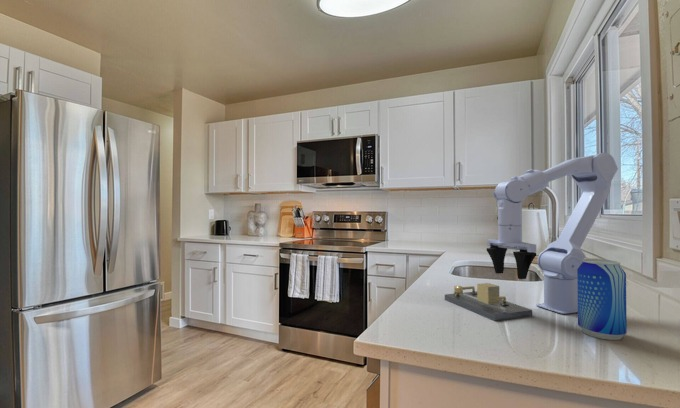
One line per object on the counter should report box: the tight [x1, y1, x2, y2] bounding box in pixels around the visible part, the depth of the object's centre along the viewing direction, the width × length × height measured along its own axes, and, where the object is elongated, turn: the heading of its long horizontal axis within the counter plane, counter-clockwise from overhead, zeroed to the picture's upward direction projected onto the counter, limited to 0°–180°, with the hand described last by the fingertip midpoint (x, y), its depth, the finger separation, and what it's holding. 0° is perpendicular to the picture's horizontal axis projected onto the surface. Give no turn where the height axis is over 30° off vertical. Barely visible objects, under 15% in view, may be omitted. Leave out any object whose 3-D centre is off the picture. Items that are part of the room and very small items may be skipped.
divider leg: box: [476, 282, 507, 304], centre depth 88 cm, size 8×4×5 cm, turn 108°
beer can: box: [577, 258, 628, 341], centre depth 73 cm, size 8×8×16 cm
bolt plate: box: [444, 285, 533, 322], centre depth 92 cm, size 12×20×4 cm, turn 18°
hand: (510, 275), depth 89 cm, fingers open, 7 cm apart
